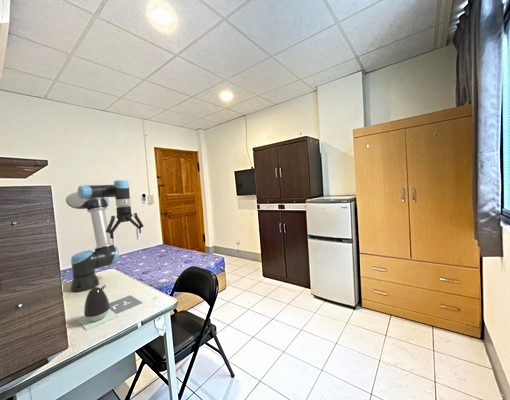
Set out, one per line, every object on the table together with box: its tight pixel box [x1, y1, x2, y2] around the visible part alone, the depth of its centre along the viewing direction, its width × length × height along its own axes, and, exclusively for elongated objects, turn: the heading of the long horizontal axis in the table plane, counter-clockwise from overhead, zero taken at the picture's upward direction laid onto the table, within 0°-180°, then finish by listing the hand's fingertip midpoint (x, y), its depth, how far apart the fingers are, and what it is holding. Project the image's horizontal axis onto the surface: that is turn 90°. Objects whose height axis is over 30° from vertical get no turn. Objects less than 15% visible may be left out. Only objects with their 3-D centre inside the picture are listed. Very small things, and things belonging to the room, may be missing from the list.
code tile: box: [109, 294, 143, 315], centre depth 124 cm, size 16×16×1 cm
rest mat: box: [77, 309, 119, 331], centre depth 111 cm, size 13×13×1 cm
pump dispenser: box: [83, 284, 110, 321], centre depth 111 cm, size 10×10×15 cm
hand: (126, 241), depth 137 cm, fingers open, 13 cm apart
